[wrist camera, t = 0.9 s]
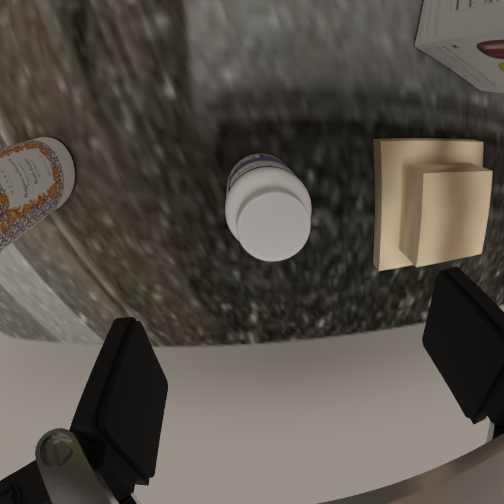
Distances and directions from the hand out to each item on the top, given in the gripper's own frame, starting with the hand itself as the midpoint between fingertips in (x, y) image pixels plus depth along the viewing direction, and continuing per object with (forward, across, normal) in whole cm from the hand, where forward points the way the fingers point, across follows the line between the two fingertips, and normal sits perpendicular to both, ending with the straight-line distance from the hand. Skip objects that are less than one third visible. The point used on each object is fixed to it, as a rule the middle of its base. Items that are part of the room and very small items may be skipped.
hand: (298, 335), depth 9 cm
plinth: (+18, -16, +3) cm, 24 cm away
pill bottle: (+18, 0, 0) cm, 18 cm away
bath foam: (+18, +19, -5) cm, 27 cm away
